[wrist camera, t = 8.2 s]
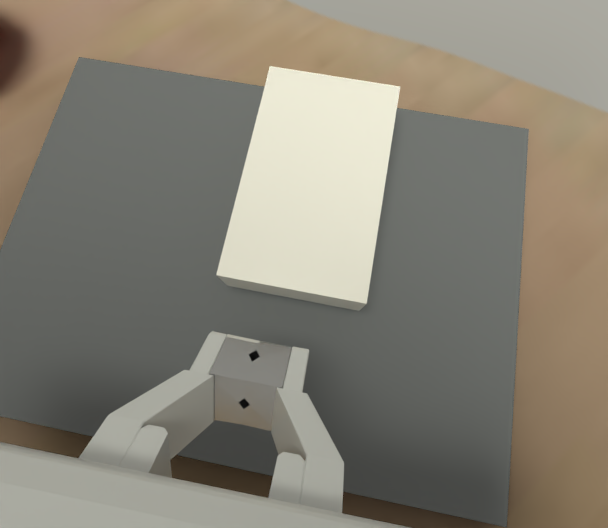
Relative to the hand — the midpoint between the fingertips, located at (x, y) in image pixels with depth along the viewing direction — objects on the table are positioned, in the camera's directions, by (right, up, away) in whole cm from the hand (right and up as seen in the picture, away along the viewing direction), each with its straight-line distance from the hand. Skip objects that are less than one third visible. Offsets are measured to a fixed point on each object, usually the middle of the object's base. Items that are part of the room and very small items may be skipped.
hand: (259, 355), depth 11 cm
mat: (-1, +3, +7) cm, 7 cm away
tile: (+1, +1, +5) cm, 5 cm away
